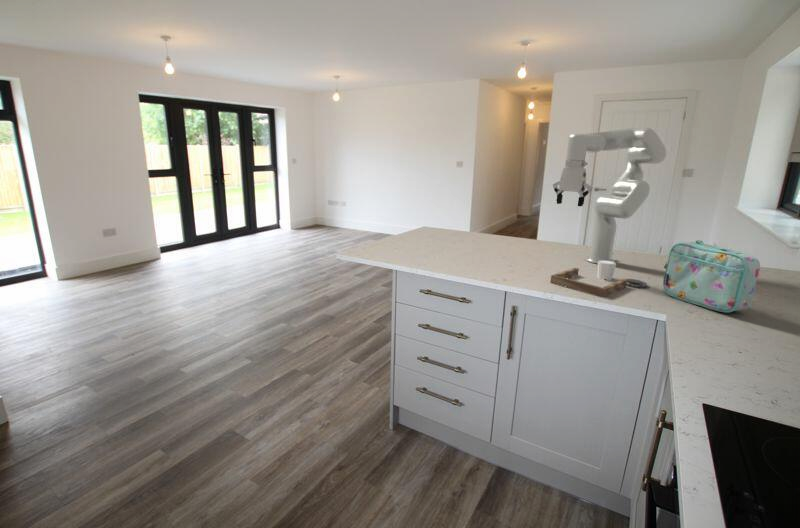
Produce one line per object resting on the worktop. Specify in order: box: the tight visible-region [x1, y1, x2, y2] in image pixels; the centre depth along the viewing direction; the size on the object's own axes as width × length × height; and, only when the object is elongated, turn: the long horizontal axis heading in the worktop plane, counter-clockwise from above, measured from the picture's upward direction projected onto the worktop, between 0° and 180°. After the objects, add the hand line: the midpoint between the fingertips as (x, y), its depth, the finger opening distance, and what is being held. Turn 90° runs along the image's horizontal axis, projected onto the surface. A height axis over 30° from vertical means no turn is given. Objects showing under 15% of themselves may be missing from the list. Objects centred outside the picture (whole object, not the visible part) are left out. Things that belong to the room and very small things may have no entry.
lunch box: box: [662, 239, 761, 313], centre depth 140 cm, size 27×10×21 cm, turn 22°
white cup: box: [596, 260, 617, 281], centre depth 169 cm, size 7×7×7 cm
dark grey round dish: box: [625, 278, 648, 289], centre depth 162 cm, size 9×9×1 cm
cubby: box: [550, 267, 627, 298], centre depth 160 cm, size 20×21×3 cm
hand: (569, 204), depth 177 cm, fingers open, 9 cm apart
